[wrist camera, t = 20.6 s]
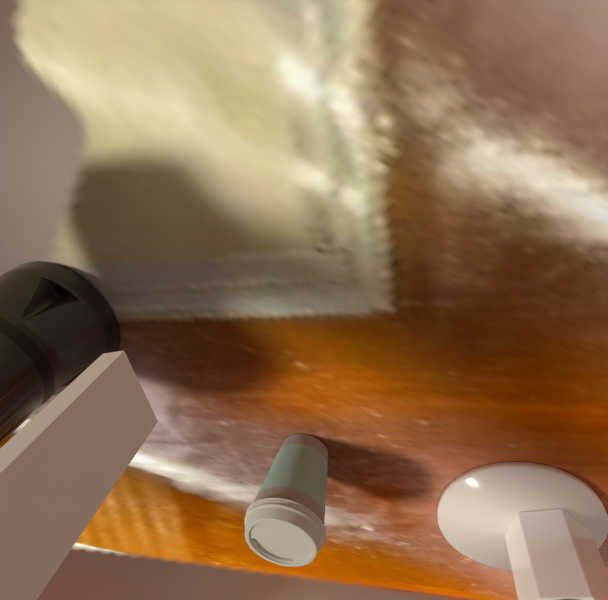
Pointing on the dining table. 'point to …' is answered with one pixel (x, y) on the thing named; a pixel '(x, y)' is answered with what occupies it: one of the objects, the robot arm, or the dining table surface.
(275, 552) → the coffee cup
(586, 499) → the saucer
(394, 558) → the dining table surface
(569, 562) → the jar
